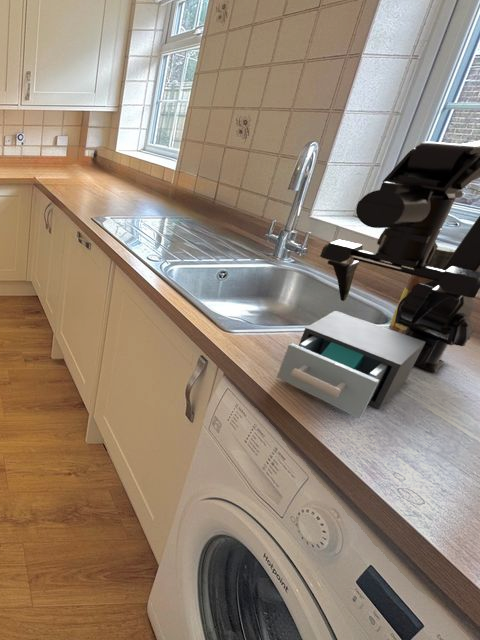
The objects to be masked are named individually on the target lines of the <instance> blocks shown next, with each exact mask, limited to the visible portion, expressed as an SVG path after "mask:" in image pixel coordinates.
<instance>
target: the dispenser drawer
mask: <svg viewBox="0 0 480 640" xmlns="http://www.w3.org/2000/svg"><path fill="white" fill-rule="evenodd" d="M299 343H300V342H299ZM330 343H331V342H330V341H327V340H325V339H322V338H320V337H317V336H315V335H314V336H312V337H310V338H309V339H307V340H305V341H304V342H302V343H300V345H299V344H296V343H293V342H291V343H289V344H288V346H287V349H286V352H285V354H284V357H283V359H282V363H281V364H280V367H279V370H278V373H277V376H276V378H277V379H279V380H281V381H283V382H285V383H287V384H288V385H291V386H293V387H295V388H296V389H299V390H301V391H303V392H305V393H307V394H309V395H311V396H313V397H315V398H318V399H319V400H321V401H323V402H324V403H327V404H329V405H331V406H332V407H333V406H334V407H335V408H337V409H339V410H341V411H343V412H345V413H347V414H349V415H352V416H353V417H355V418H357V419H361V418H362V417H363V416H364V413H365V412H366V410H367V407H368V405H369V404H368V403H369V401H370V399H371V398H372V397H373V396H374V395H375V394H376V393H377V392H378V391H380V390H381V388H382V386H383V384H384V382H385V380H386V378H387V376H388V374H389V372H390V370H391V368H392V366H390V365H387V364H385V363H382V362H380V361H377V360H375V359H372V358H370V357H367V356H365V355H364V357H363V361H362V364H361V367H360V371H357V370H355V369H352V368H350V367H348V366H345V365H343V364H341V363H338V362H336V361H333V360H331V359H329V358H326V357H324V356H322V355H321V354H322V353H323V352H324V350H325V349H326V348H327V347H328V345H329V344H330Z"/></svg>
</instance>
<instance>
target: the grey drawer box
mask: <svg viewBox="0 0 480 640" xmlns="http://www.w3.org/2000/svg"><path fill="white" fill-rule="evenodd" d="M314 335H315V336H317V337H320V338H322V339H325V340H327V341H330V342H333V343H335V344H338V345H340V346H343V347H345V348H348V349H350V350H353V351H355V352H358V353H361V354H363V355H365V356H367V357H370V358H372V359H375V360H377V361H380V362H382V363H385V364H387V365H390V366H392V368H391V370H390V372H389V374H388V376H387V378H386V380H385V382H384V384H383V386H382V388H381V390H380V391H378V392H377V393H376V394H375V395H374V396H373V397H372V398H371V399H370V401H369V403H368V405H370V406H372V407H374V408H375V409H378V410H379V409H381V408H382V406H383V405H385V404H386V403H387V401H388V400H390V398H391V397H392V396H393V395H394V394H395V393H397V392H398V390H400V388H401V387H403V385H405V383H406V382H407V379H408V377H409V375H410V374H411V372H412V369H413V367H414V366H415V365H414V364H415V362H416V360H417V358H418V356H419V354H420V352H421V350H422V348H423V346H424V344H425V341H422V340H419V339H416V338H413V337H410V336H407V335H404V334H402V333H399V332H396V331H393V330H390V329H389V328H387V327H385V326H381V325H378V324H375V323H374V322H373V323H372V322H370V321H367V320H364V319H361V318H358V317H355V316H352V315H349V314H347V313H344V312H341V311H338V310H334V311H332V312H330V313H328V314H327V315H325V316H322V318H320V319H318V320H316V321H314V322H313V323H311V324H309V325H307V326H306V327H304V330H303V333H302V336H301V338H300V340H299V342H298V343H299V344H298V346H299V345H300V343H302V342H304V341H305V340H307V339H309V338H310V337H312V336H314Z"/></svg>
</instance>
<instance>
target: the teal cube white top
mask: <svg viewBox="0 0 480 640" xmlns="http://www.w3.org/2000/svg"><path fill="white" fill-rule="evenodd" d="M321 355H322V356H324V357H326V358H329V359H331V360H333V361H336V362H338V363H341V364H343V365H345V366H348V367H350V368H352V369H355V370H357V371H360V367H361V364H362V361H363V357H364V355H363V354H361V353H358V352H355V351H353V350H350V349H348V348H345V347H343V346H340V345H338V344H335V343H333V342H331V343H330V344H329V345H328V347H327V348H326V349H325V350H324V352H323V353H322V354H321Z"/></svg>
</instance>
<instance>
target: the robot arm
mask: <svg viewBox="0 0 480 640" xmlns="http://www.w3.org/2000/svg"><path fill="white" fill-rule="evenodd" d="M477 179H480V140H477V141H471V142H467V143H450V142H449V143H448V142H436V141H423V142H420V143H419V144H417V145H415V146H414V148H412V149H411V150H410V151H409V152H407V153H406V155H404V157H403V158H401V160H400V161H399V162H398V163H397V165H396V166H395V167H393V169H392V170H391V171H390V172H389V173H388V175H386V177H385V178H384V179H383V180H382V183H381V185H380V188H379V189H377V190H372V191H370V192H368V193H366V194H365V195H364V196H363V197H362V198H361V199H360V200H359V201H358V202H357V204H356V208H355V212H356V216H357V219H358V220H359V221H360V222H361V223H362V224H363V225H365V226H366V227H370V228H373V229H383V231H382V232H381V234H380V235H379V236H378V237H379V238H378V239H377V242H376V244H377V245H378V248H377V251H376V252H370V251H367V250H363V249H364V247H363V244H361V243H355V242H352V241H349V240H342V239H337V240H334V241H331V242H329V243H326V244H325V245H324V246H323V248H322V250H321V252H320V254H319V257H320V258H322V259H325V260H327V265H329V266H332V267H333V270H334V273H335V277H336V280H337V285H338V291H339V292H338V293H339V298H340V301H342V302H345V301H346V300H347V298H348V296H349V294H350V291H351V287H352V284H353V279H354V276H355V272H356V270H357V268H358V266H359V264H360V262H361V263H366V264H370V265H373V266H377V267H380V268H384V269H388V270H392V271H396V272H400V273H404V274H407V275H410V276H411V275H415V276H419V277H422V278H426V279H430V280H431V281H429V282H427V283H424V284H421V283H418V284H416V285H414V286H413V288H412V289H411V291H410V293H409V294H408V295H407V296H406V297H404V298H403V299H402V300H401V301H400V300H399V301H400V303H399V302H398V303H399V305H398V304H397V305H398V309H397V314H396V319H395V323H397V324H401V325H403V326H406V327H407V329H406V331H405V333H404V335H407V336H410V337H413V338H416V339H419V340H422V341H425V344H424V346H423V348H422V350H421V352H420V354H419V356H418V358H417V360H416V362H415V364H414V366H416V367H417V368H421V369H424V370H426V371H429V372H432V373H436V372H437V371H438V369H440V368H441V366H442V365H443V364H444V362H445V361H444V360H443V359H441V358H442V356H443V355H444V353H445V351H446V349H447V348H448V346H458V347H465V346H466V344H467V342H468V341H469V340H470V339H471V338H472V335H473V334H474V329H473V324H472V321H471V315H472V313H473V312H474V310H475V306H474V305H475V304H474V299H475V298H476V297H477V296H478V295H479V294H480V215H479V216H478V218H476V220H475V221H474V223H473V224H472V226H471V227H470V229H469V230H468V232H466V235H465V236H464V237H463V239H462V240H461V241H460V243H459V244H458V246H457V247H456V248H455V249H454V250H455V251H454V253H453V254H452V256H451V257H450V259H449V260H448V261H447V263H446V264H445V266H444V267H443V268H442V270H441V269H437V268H432V267H428V266H424V264H428V263H430V260H431V258H432V256H433V254H434V253H435V251H436V249H437V247H439V246H438V244H437V243H436V241H437V239H438V237H439V234H440V232H441V231H442V228H443V226H444V224H445V222H446V220H447V218H448V216H449V213H450V211H451V209H452V207H453V206H454V203H455V201H456V199H461V198H462V197H463V195H464V193H463V191H462V190H464V189H465V188H466V187H467V186H468V185H469V184H470V183H471V182H473V181H475V180H477Z"/></svg>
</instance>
